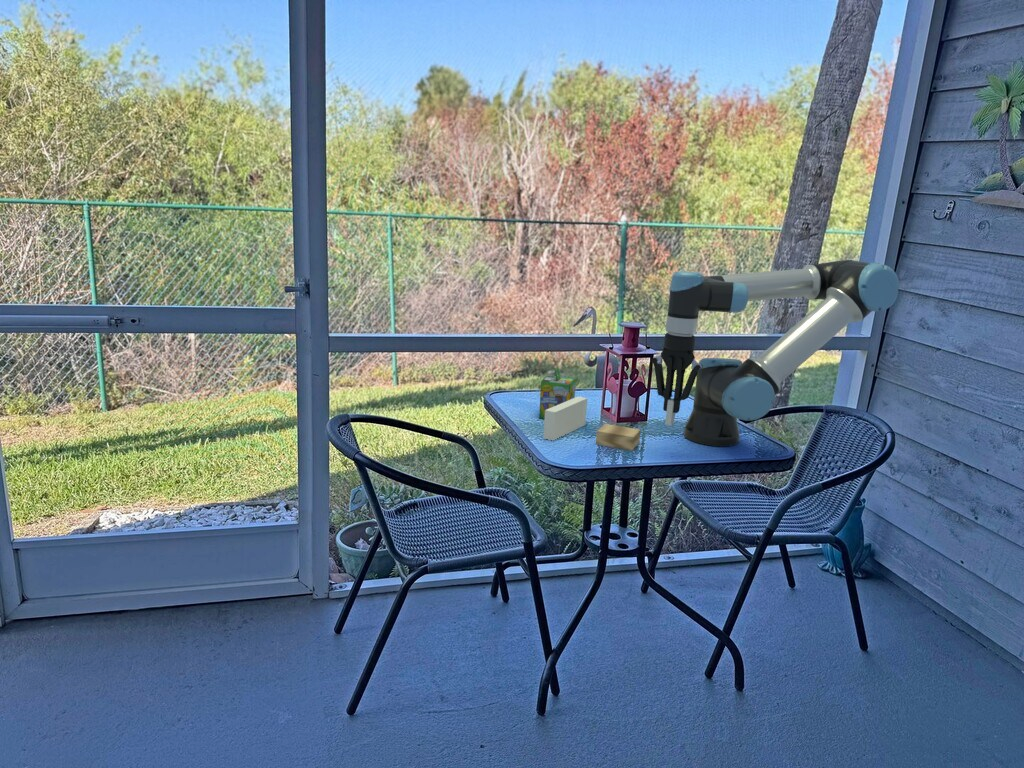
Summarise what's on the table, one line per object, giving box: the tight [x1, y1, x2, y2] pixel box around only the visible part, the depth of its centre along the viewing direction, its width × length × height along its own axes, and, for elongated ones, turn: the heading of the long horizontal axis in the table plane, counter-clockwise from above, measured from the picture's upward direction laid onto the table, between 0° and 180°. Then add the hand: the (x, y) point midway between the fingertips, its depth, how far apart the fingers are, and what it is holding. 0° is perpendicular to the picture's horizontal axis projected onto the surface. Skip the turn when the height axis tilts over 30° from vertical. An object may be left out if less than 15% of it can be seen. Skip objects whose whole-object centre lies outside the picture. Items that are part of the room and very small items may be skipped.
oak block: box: [595, 423, 641, 451], centre depth 198 cm, size 10×8×4 cm
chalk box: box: [538, 366, 577, 420], centre depth 219 cm, size 9×9×15 cm
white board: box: [542, 396, 588, 442], centre depth 205 cm, size 3×20×8 cm, turn 149°
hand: (669, 423), depth 190 cm, fingers closed
